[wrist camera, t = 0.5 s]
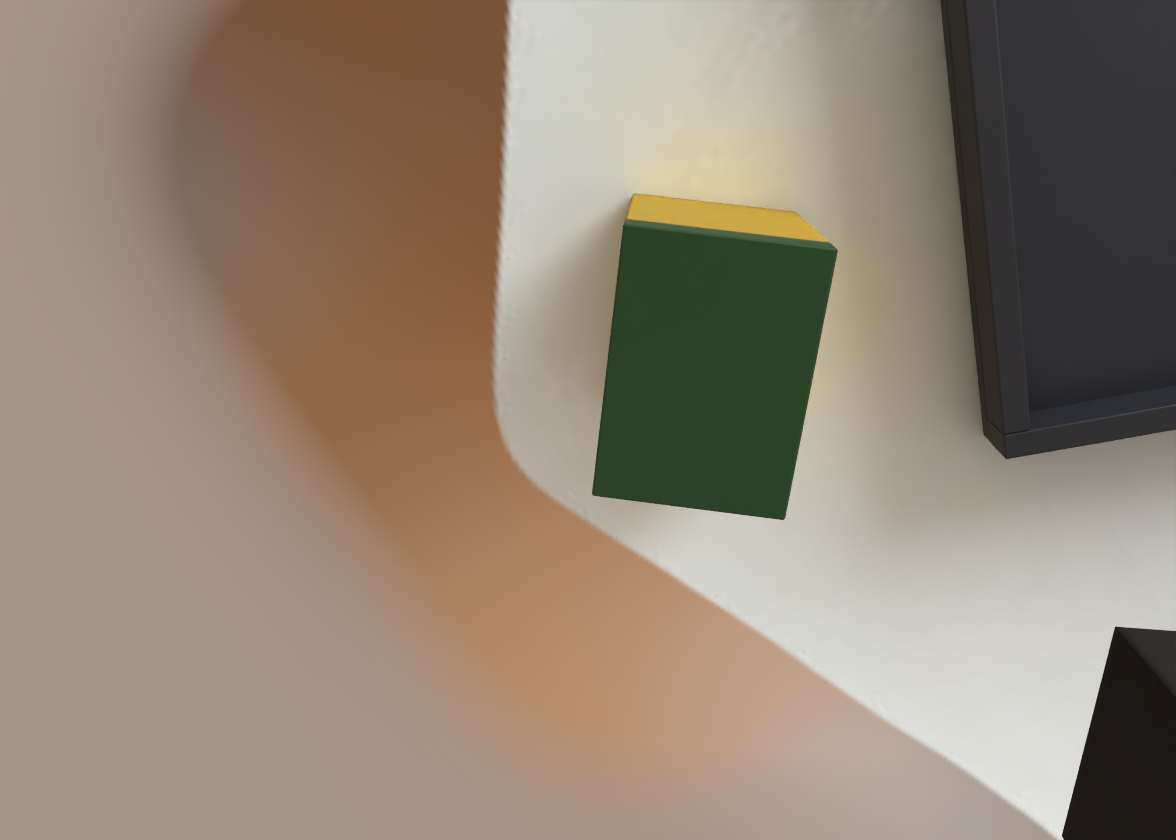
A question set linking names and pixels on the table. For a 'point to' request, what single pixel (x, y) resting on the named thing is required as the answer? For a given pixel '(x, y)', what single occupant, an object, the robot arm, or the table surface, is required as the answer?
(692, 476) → the sponge
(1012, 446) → the tray
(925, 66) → the table surface
